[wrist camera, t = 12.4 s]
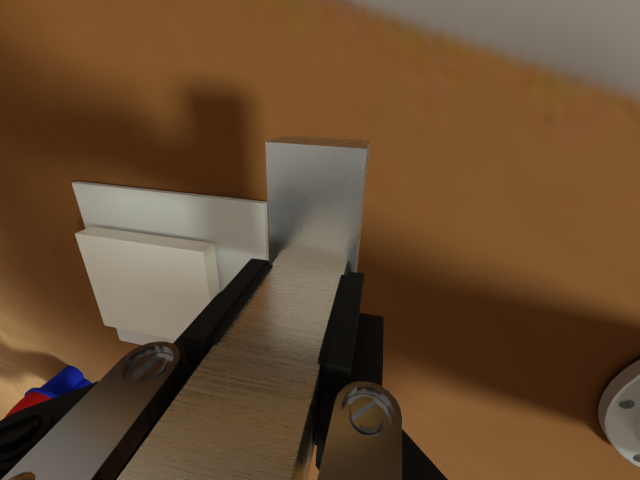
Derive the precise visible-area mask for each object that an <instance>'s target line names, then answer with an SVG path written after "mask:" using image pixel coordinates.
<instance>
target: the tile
mask: <svg viewBox="0 0 640 480" xmlns="http://www.w3.org/2000/svg"><path fill="white" fill-rule="evenodd" d="M75 236H76V239H77V242H78V245H79V248H80V251H81V255H82V258H83V261H84V264H85V267H86V270H87V273H88V276H89V279H90V282H91V285H92V288H93V291H94V295H95V298H96V301H97V304H98V307H99V310H100V313H101V316H102V319H103V322H104V325H105V326H110V327H115V328H120V329H125V330H130V331H134V332H139V333H144V334H149V335H154V336H159V337H163V338H168V339H173V340H176V339H177V338H178V337H179V336H180V335H181V334H182V333H183V332H184V331H185V329H186V328H187V327H188V326H189V325H190V324H191V323H192V322H193V321H194V319H195V318H196V317H197V316H198V315H199V314H200V313H201V312H202V311H203V309H204V308H205V307H206V306H207V305H208V304H209V303H210V302H211V301H212V299H213V298H214V297H215V296H216V295H217V294H218V293H219V292H220V287H219V278H218V270H217V261H216V253H215V244H214V243H208V242H200V241H193V240H186V239H179V238H171V237H164V236H157V235H150V234H142V233H135V232H128V231H121V230H113V229H106V228H99V227H89V228H87V229H84V230H82V231H79V232H77V233H75Z"/></svg>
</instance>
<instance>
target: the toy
mask: <svg viewBox="0 0 640 480" xmlns="http://www.w3.org/2000/svg"><path fill="white" fill-rule="evenodd" d="M90 384H92V383H91V382H89V381H88V380H86V379H84V377H83V375H82V373H81V372H80V371H79V370H78V369H77V368H75V367H72V366H67V367H66V368H64V369H63V370H62V371H61V372H59V373H58V374H57V375H56V376H54V377H53V378H52V379H51V380H49V381H48V382H47V383H46V384H44V385H43V386H42V387H41V388H31V389H30V390H29V391H27V392H26V393H25V397H24V398H23V399H22V400H20V401H19V402H18V403H17V404H16V405H15V406H14V407H13V408H12V409H11V410H10V412H9V413H8V414H7V415H6V416H5V418H6V417H8V416H9V415H11V414H13V413H15V412H17V411H20V410H22V409H24V408H27V407H29V406H32V405H35V404H38V403H40V402H43V401H46V400H49V399H51V398H54V397H57V396H60V395H62V394H65V393H68V392H71V391H73V390H76V389H79V388H82V387H84V386H87V385H90Z"/></svg>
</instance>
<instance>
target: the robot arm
mask: <svg viewBox="0 0 640 480" xmlns="http://www.w3.org/2000/svg"><path fill="white" fill-rule="evenodd" d="M272 266H273V265H269V261H268V260H262V259H255V258H251V259H250V260H249V261H248V263H247V264H246V265H245V266H244V267H243V268H242V269H241V270H240V272H239V273H238V274H237V275H236V276H235V277H234V278H233V279H232V281H231V282H230V283H229V284H228V285H227V286H226V287H225V288H224V290H223V291H221V292H219V293H218V294H217V295H216V296H215V297H214V298H213V299H212V301H211V302H210V303H209V304H208V305H207V306H206V307H205V308H204V309H203V311H202V312H201V313H200V314H199V315H198V316H197V317H196V318H195V319H194V321H193V322H192V323H191V324H190V325H189V326H188V327H187V328H186V329H185V331H184V332H183V333H182V334H181V335H180V336H179V337H178V338H177V339H176V341H175V342H174V343H173V344H172V343H169V342H161V341H157V342H152V343H147V344H144V345H142V346H139V347H137V348H135V349H133V350H132V351H130V352H129V353H127V354H126V355H125V356H124V357H123V358H121V359H120V360H119V361H118V362H117V363H116V364H115V365H114V366H113V367H112V368H111V369H110V370H109V371H108V372H107V374H106V375H105V376H104V377H103V378H102V379H101V380H100V381H98V382H95V383H93V384H90V385H87V386H84V387H82V388H79V389H76V390H73V391H71V392H68V393H65V394H62V395H60V396H57V397H54V398H51V399H49V400H46V401H43V402H40V403H38V404H35V405H32V406H29V407H27V408H24V409H22V410H20V411H17V412H15V413H13V414H11V415H9V416H8V417H6V418H4V419H3V420H1V421H0V480H117V478H118V477H119V476H120V474H121V473H122V471H123V470H124V469H125V467H126V466H127V464H128V463H129V462H130V460H131V459H132V457H133V456H134V455H135V453H136V452H137V451H138V449H139V448H140V446H141V445H142V444H143V442H144V441H145V439H146V438H147V437H148V435H149V434H150V433H151V431H152V430H153V428H154V427H155V426H156V424H157V423H158V421H159V420H160V419H161V417H162V416H163V415H164V413H165V412H166V410H167V409H168V408H169V406H170V405H171V403H172V402H173V401H174V399H175V398H176V397H177V395H178V394H179V392H180V391H181V390H182V388H183V387H184V385H185V384H186V383H187V381H188V380H189V379H190V377H191V376H192V374H193V373H194V372H195V370H196V369H197V367H198V366H199V365H200V363H201V362H202V360H203V359H204V358H205V356H206V355H207V354H208V352H209V351H210V349H211V348H212V347H213V345H214V344H218V343H219V341H220V340H221V338H222V337H223V336H224V334H225V333H226V331H227V330H228V329H229V327H230V326H231V324H232V323H233V322H234V320H235V319H236V317H237V316H238V314H239V313H240V312H241V310H242V309H243V307H244V306H245V305H246V303H247V302H248V300H249V299H250V297H251V296H252V295H253V293H254V292H255V290H256V289H257V288H258V286H259V285H260V283H261V282H262V281H263V279H264V278H265V276H266V275H267V273H268V272H269V271H270V269H271V268H272ZM363 280H364V273H357V272H350V271H348V273H347V275H341V277H340V280H339V284H338V287H337V291H336V295H335V298H334V302H333V305H332V309H331V313H330V316H329V320H328V324H327V327H326V331H325V334H324V338H323V342H322V345H321V349H320V353H319V357H318V364H320V373H319V392H318V411H317V430H316V442H315V445H317V451H316V466H317V468H318V470H319V474H318V478H317V480H447V478H446V477H445V476H444V475H443V474H442V473H441V472H440V471H439V469H438V468H437V467H436V466H435V465H434V464H433V463H432V462H431V461H430V459H429V458H428V457H427V456H426V455H425V454H424V453H423V452H422V451H421V449H420V448H419V447H418V446H417V445H416V444H415V443H414V442H413V440H412V439H411V438H410V437H409V436H408V435H407V434H406V433H405V432H404V430H403V429H402V414H401V408H400V406H399V404H398V402H397V400H396V399H395V397H394V396H393V395H392V394H391V393H390V392H389V391H388V390H386V389H385V388H383V387H382V369H383V317H382V316H376V315H370V314H364V313H360V306H361V297H362V289H363ZM598 419H599V422H600V426H601V429H602V430H603V432H604V433H605V435H606V437H607V438H608V440H609V441H610V443H611V445H612V446H613V447H614V448H615V449H616V450H617V452H618V453H619V454H620V455H621V456H623V457H624V458H625V459H626V460H628V461H629V462H631V463H632V464H634V465H636V466H638V467H640V359H639V360H638V361H636V362H634V363H633V364H631V365H630V366H628V367H627V368H625V369H624V370H623V371H622V372H621V373H619V374H618V375H617V376H616V377H615V378H614V379H613V380H612V381H611V382H610V384H609V385H608V387H607V388H606V389H605V391H604V392H603V394H602V397H601V400H600V402H599V405H598Z"/></svg>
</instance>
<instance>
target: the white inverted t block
mask: <svg viewBox="0 0 640 480" xmlns="http://www.w3.org/2000/svg"><path fill="white" fill-rule="evenodd" d="M265 143H266V170H267V197H268V224H269V251H270V265H273V266H272V268H271V269H270V271H269V272H268V273H267V275H266V276H265V278H264V279H263V281H262V282H261V283H260V285H259V286H258V288H257V289H256V290H255V292H254V293H253V295H252V296H251V297H250V299H249V300H248V302H247V303H246V305H245V306H244V307H243V309H242V310H241V312H240V313H239V314H238V316H237V317H236V319H235V320H234V322H233V323H232V324H231V326H230V327H229V329H228V330H227V331H226V333H225V334H224V336H223V337H222V338H221V340H220V341H219V343H218V344H214V345H213V347H212V348H211V349H210V351H209V352H208V354H207V355H206V356H205V358H204V359H203V360H202V362H201V363H200V365H199V366H198V367H197V369H196V370H195V372H194V373H193V374H192V376H191V377H190V379H189V380H188V381H187V383H186V384H185V385H184V387H183V388H182V390H181V391H180V392H179V394H178V395H177V397H176V398H175V399H174V401H173V402H172V403H171V405H170V406H169V408H168V409H167V410H166V412H165V413H164V415H163V416H162V417H161V419H160V420H159V421H158V423H157V424H156V426H155V427H154V428H153V430H152V431H151V433H150V434H149V435H148V437H147V438H146V439H145V441H144V442H143V444H142V445H141V446H140V448H139V449H138V451H137V452H136V453H135V455H134V456H133V457H132V459H131V460H130V462H129V463H128V464H127V466H126V467H125V469H124V470H123V471H122V473H121V474H120V476H119V477H118V478H117V480H307V479H308V474H309V470H310V465H311V460H312V456H313V451H314V446H315V442H316V430H317V411H318V392H319V373H320V364H318V357H319V353H320V349H321V345H322V342H323V338H324V334H325V331H326V327H327V324H328V320H329V316H330V313H331V309H332V305H333V302H334V298H335V295H336V291H337V287H338V284H339V280H340V277H341V275H347V273H348V271H350V272H357V266H358V256H359V246H360V237H361V227H362V218H363V208H364V199H365V189H366V179H367V170H368V160H369V151H370V141H364V140H348V139H332V138H317V137H301V136H283V137H280V138H277V139H273V140H270V141H267V142H265Z"/></svg>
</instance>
